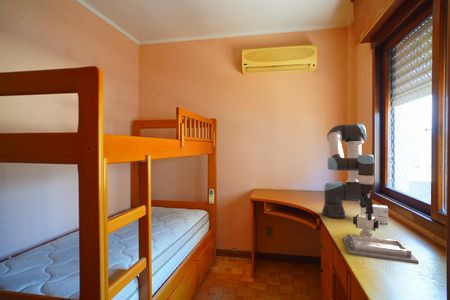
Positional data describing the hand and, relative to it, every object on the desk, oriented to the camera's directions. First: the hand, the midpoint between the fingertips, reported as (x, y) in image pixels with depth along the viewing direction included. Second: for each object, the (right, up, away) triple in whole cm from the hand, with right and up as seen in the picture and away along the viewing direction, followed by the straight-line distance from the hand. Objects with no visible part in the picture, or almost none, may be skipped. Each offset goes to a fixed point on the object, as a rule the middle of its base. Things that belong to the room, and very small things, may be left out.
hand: (366, 222), depth 127 cm
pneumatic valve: (0, -8, 0) cm, 8 cm away
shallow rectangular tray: (-5, -7, -16) cm, 18 cm away
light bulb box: (+23, -8, +26) cm, 36 cm away
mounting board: (-5, -8, -16) cm, 18 cm away
